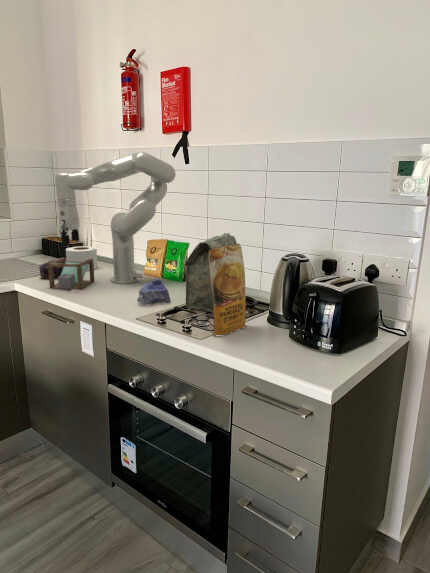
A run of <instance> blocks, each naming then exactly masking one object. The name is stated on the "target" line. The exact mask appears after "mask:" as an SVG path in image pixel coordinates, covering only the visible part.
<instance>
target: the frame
mask: <svg viewBox="0 0 430 573" xmlns="http://www.w3.org/2000/svg"><path fill="white" fill-rule="evenodd" d="M57 259H58V260H56V259H54V260H55V261H53V262H51V263H49V266H48V272H49V278H48V281H49V289H54V290H65V289H64V288H60V287H59V282H58V281H57V282H56V283H55V278H54V272H53V266H61V267H62V270H63V268H64V267H77V276H78V284H76V285H75V286H74V287H72V288H71V289H70V290H73V291H74V290H75V291H83V290H85V288H87V287H89V286H90V285H92V284H94V283H95V270H94V262H93V259H88V260H86V261H84V262H72V261H67V259H66V257H61V258H60V259H59V258H57ZM60 262H62V263H60ZM66 262H70V263H80V264H65V263H66ZM86 264H89V270H90V271H89V280H87V279H84V278H82V266H84V265H86Z"/></svg>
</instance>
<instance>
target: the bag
mask: <svg viewBox="0 0 430 573" xmlns="http://www.w3.org/2000/svg"><path fill="white" fill-rule="evenodd" d="M236 239H237V238H236V237H235V236H234V235H231V234H230V232H227V233H226V232H224V233H223V234H222V235H216V236H215V235H214V236H212V237H211V238H207V239H206V240H205V241H200V242H198V244H197V245H196V246H195V247H194V249H193V250H192V251H191V253H190V254H189V256H188V258H187V259H186V261H185V263H184V266H186V271H185V308H186V309H202V310H204V311H208V312H211V313H213V314H214V312H213V295H212V290H211V286H210V271H209V264H208V252H209V251H210V249H212V248H216V247H220V246H227V245H233V244H238V243H237V240H236Z"/></svg>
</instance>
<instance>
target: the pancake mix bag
mask: <svg viewBox="0 0 430 573" xmlns="http://www.w3.org/2000/svg"><path fill="white" fill-rule="evenodd" d="M242 250H243V249H242V245H241V244H240V243H237V244H233V245H227V246H220V247H216V248H212V249H210V251H209V252H208V264H209V271H210V286H211V290H212V295H213V312H214V313H213V312H212V313H213V327H212V332H211V333H212V334H213V335H212V337H213V336H214V337H217V336H216V335H225V336H227V335H226V334H228V335H230V334H232V333H231V332H233V333H235V332H237V331H236V330H238V329H241V328H243V327H245V328H246V273H245V272H246V270H245V261H244V259H243V258H244V257H243V251H242ZM243 329H244V328H243ZM241 330H242V329H241ZM234 331H235V332H234ZM238 331H239V330H238ZM229 333H230V334H229Z"/></svg>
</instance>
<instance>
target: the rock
mask: <svg viewBox="0 0 430 573" xmlns="http://www.w3.org/2000/svg"><path fill="white" fill-rule="evenodd" d="M58 259H60V258H57V259H52V260H49V261H47V262H45V263H44V262H43V264H40V265H39V275H40V277H41V278H42V279H49V272H48V266H49V263H51V262H53V261H55V260H58ZM60 263H62V262H60ZM62 271H63V270H62V267H61V266H53V272H54V279H56V278H57V279H58V277H59V276H61V273H62Z"/></svg>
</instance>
